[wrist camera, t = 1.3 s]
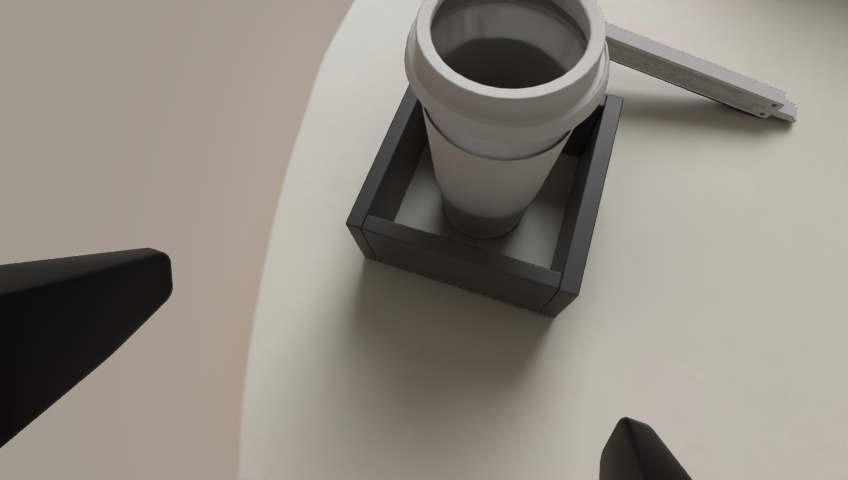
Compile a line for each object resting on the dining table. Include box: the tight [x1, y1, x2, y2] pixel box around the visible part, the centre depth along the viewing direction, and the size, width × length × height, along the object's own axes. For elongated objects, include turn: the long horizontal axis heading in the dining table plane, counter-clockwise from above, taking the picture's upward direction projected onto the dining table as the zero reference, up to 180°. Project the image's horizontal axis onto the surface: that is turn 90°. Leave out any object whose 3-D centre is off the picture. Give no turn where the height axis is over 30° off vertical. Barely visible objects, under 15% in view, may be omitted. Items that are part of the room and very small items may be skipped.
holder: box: [346, 84, 624, 318], centre depth 22 cm, size 11×11×4 cm
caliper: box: [605, 22, 797, 122], centre depth 24 cm, size 20×1×6 cm, turn 69°
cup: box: [405, 0, 610, 239], centre depth 19 cm, size 7×7×12 cm
